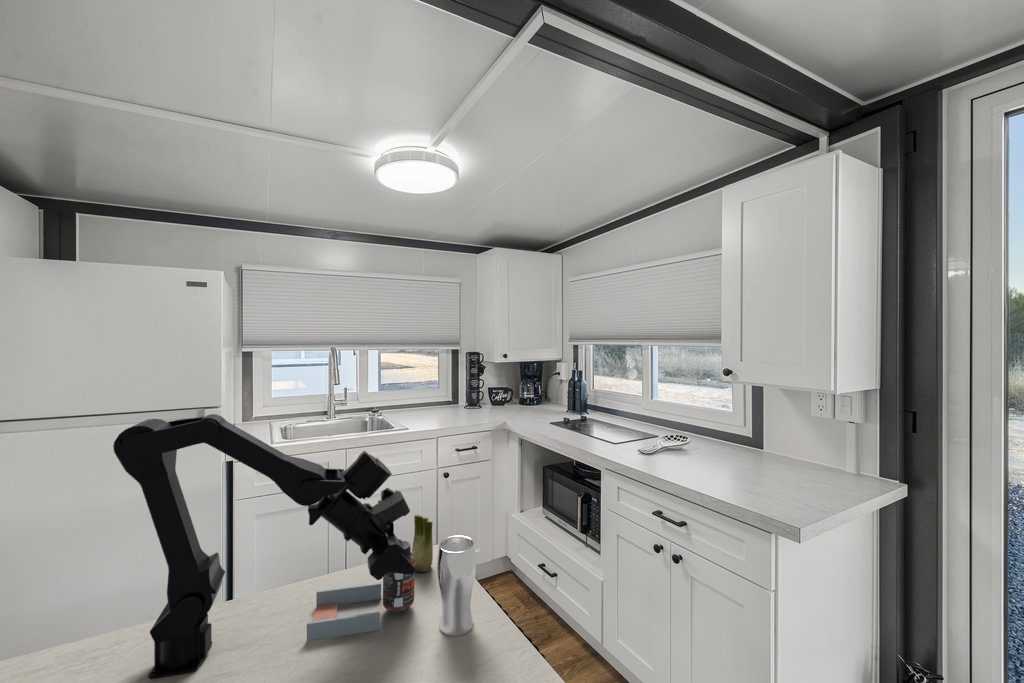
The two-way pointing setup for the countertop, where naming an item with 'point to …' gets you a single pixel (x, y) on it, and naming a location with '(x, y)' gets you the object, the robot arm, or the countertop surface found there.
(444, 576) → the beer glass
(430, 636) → the countertop surface
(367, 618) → the channel
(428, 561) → the fennel bulb
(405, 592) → the supplement bottle
